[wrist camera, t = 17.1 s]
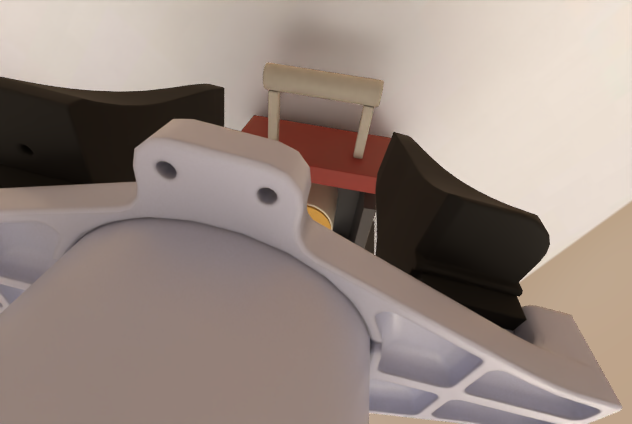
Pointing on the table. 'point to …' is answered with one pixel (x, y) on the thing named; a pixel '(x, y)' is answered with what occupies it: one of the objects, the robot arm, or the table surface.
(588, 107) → the table surface
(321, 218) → the beige cylinder
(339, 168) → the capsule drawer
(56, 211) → the robot arm
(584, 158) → the table surface
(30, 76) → the table surface
